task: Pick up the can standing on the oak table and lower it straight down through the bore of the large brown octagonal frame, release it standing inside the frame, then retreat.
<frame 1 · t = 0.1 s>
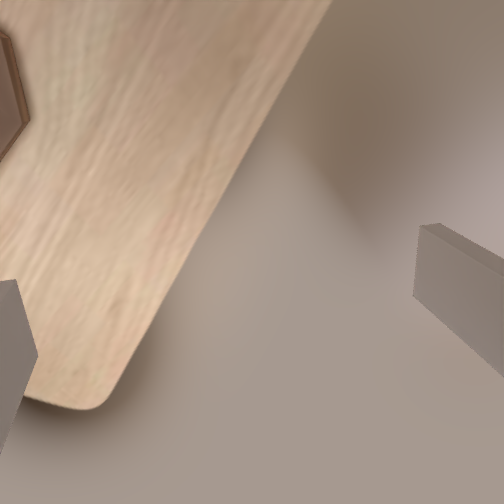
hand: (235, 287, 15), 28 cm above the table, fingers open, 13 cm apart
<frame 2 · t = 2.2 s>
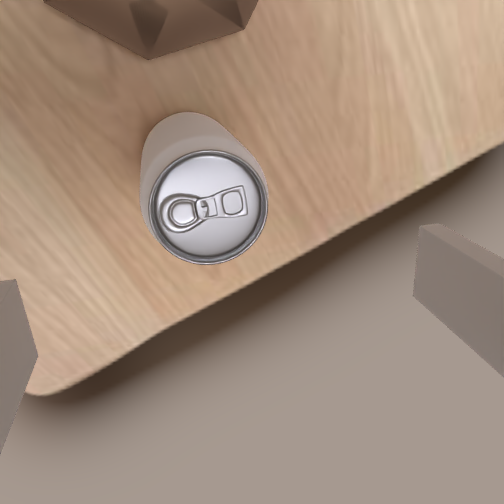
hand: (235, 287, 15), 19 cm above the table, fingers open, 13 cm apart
can: (189, 158, 32), on the table
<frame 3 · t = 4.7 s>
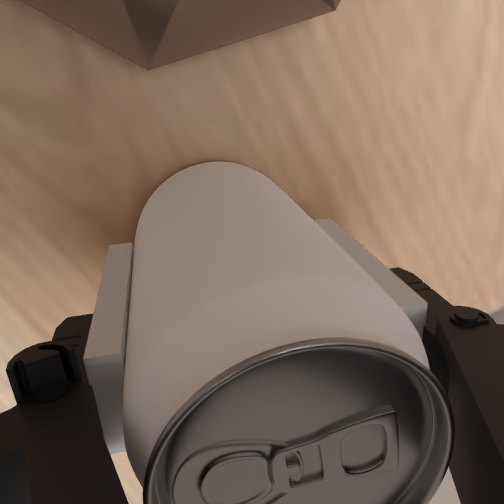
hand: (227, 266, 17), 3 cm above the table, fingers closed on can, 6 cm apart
can: (216, 235, 19), on the table, touching gripper
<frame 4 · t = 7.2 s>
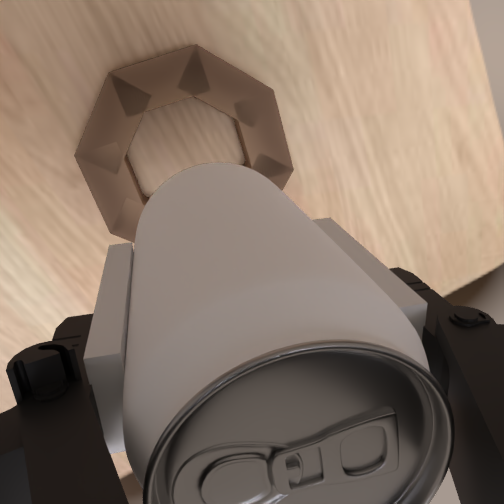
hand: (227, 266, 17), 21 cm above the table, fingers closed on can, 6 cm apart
can: (216, 236, 19), point 18 cm above the table, touching gripper
brown octagonal frame: (187, 156, 35), on the table
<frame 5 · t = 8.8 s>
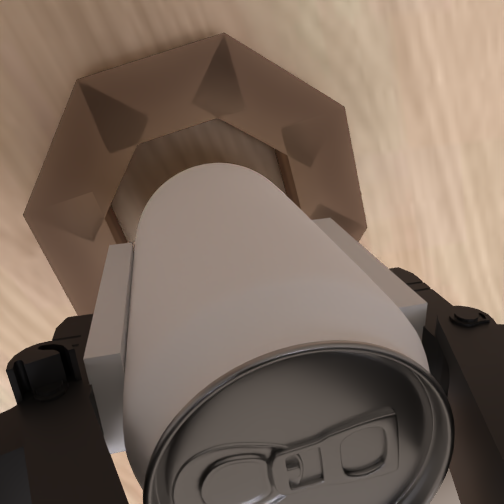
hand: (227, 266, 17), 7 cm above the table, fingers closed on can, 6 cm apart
can: (216, 236, 19), point 5 cm above the table, touching gripper
brown octagonal frame: (204, 205, 23), on the table
when the fingers open (4 cm above the table, at t = 10.2 s): can drops 1 cm, resting in brown octagonal frame.
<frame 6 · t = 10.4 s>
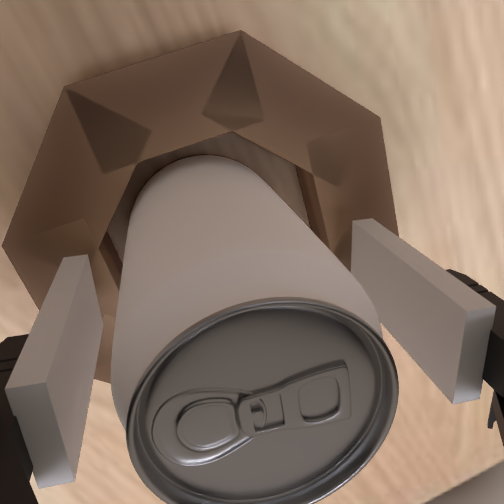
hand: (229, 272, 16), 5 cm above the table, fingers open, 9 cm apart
can: (204, 225, 20), resting in brown octagonal frame
brown octagonal frame: (213, 229, 20), on the table
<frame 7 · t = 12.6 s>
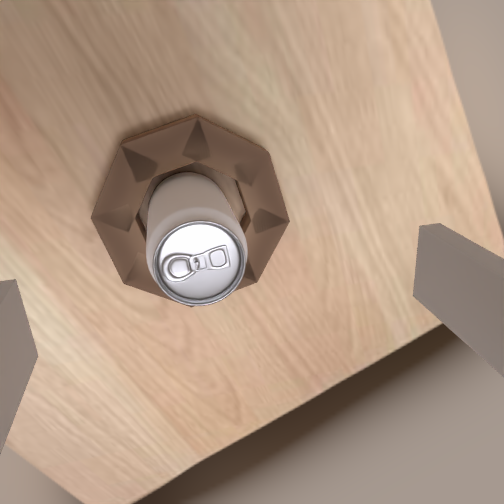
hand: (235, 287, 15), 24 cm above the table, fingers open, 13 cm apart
can: (187, 208, 38), resting in brown octagonal frame
brown octagonal frame: (192, 210, 38), on the table
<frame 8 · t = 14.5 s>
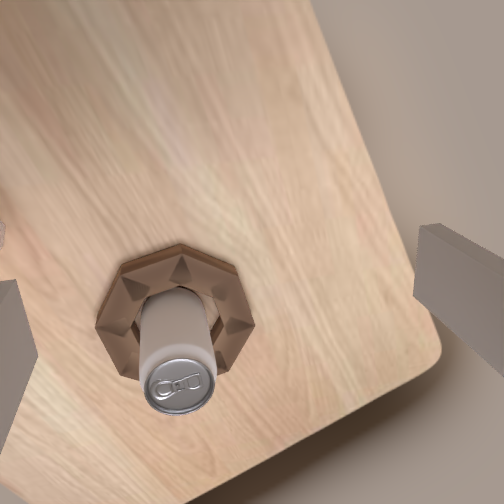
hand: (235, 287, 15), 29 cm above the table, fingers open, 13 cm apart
can: (173, 312, 47), resting in brown octagonal frame
brown octagonal frame: (177, 314, 47), on the table
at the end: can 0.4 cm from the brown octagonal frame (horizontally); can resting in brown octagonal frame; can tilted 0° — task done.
